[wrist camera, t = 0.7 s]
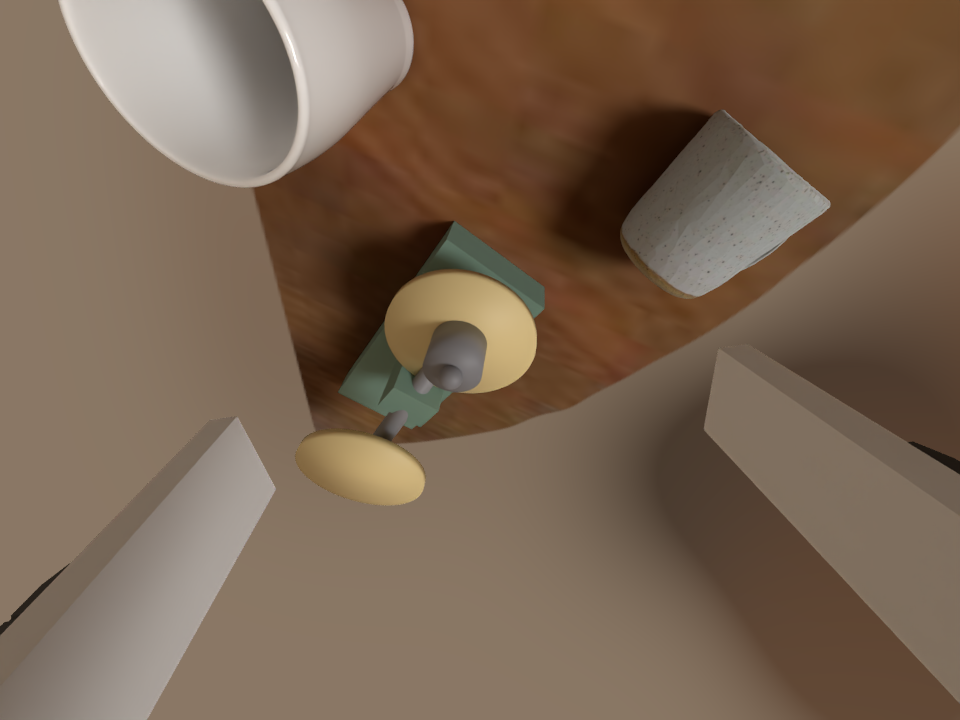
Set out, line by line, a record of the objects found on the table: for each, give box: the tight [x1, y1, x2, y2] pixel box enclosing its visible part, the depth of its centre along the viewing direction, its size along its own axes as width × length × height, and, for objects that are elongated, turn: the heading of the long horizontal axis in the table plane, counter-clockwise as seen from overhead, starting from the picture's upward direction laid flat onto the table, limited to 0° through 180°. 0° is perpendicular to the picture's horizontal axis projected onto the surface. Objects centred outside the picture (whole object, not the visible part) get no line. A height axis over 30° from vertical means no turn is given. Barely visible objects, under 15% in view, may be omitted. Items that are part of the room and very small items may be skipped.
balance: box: [295, 221, 544, 505], centre depth 32 cm, size 25×11×12 cm, turn 144°
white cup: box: [58, 0, 414, 188], centre depth 16 cm, size 7×7×15 cm
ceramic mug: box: [620, 110, 830, 299], centre depth 23 cm, size 11×8×8 cm
